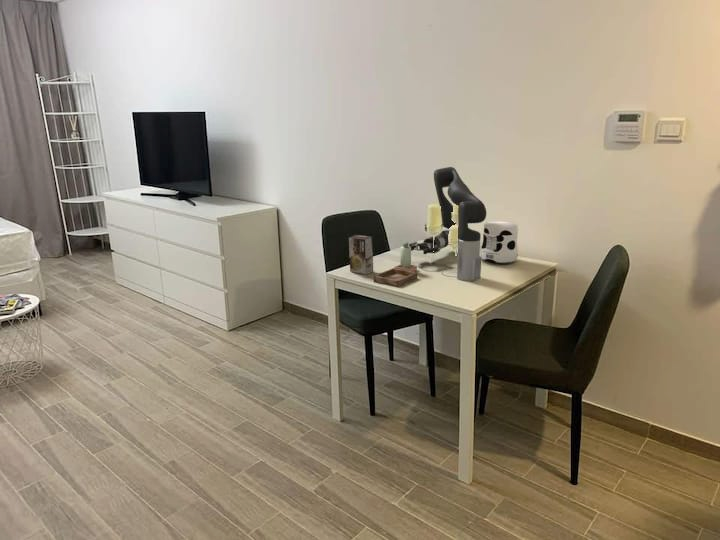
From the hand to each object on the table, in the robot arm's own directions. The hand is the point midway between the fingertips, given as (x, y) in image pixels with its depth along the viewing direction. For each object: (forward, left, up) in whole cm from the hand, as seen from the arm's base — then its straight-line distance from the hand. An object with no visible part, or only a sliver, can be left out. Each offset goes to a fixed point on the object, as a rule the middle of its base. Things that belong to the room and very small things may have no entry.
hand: (416, 250), depth 250 cm
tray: (-4, +23, -8) cm, 24 cm away
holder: (0, +9, -8) cm, 12 cm away
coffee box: (+16, +21, -8) cm, 27 cm away
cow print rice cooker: (-28, -29, -8) cm, 41 cm away
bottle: (0, +9, -8) cm, 12 cm away
